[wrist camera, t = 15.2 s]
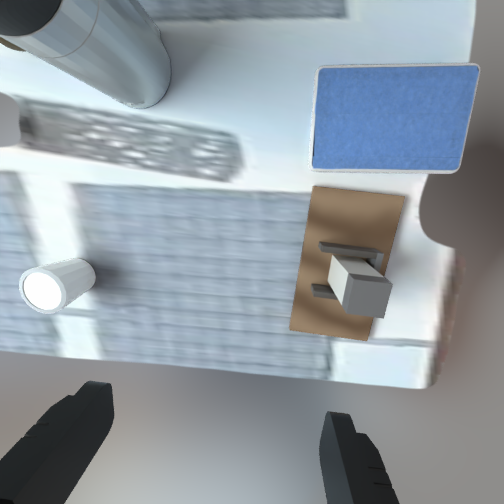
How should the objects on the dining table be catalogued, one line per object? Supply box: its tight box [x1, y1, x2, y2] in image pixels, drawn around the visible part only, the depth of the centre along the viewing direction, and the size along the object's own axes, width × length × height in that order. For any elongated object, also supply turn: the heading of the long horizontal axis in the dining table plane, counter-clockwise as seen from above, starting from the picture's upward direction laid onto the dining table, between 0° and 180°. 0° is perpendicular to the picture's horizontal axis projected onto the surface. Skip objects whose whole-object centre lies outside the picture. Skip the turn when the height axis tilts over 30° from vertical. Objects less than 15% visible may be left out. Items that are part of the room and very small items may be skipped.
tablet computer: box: [308, 63, 481, 174], centre depth 33 cm, size 19×13×1 cm, turn 89°
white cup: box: [19, 258, 96, 314], centre depth 38 cm, size 7×7×7 cm
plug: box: [328, 255, 392, 318], centre depth 32 cm, size 4×4×10 cm
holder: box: [289, 186, 405, 341], centre depth 36 cm, size 22×12×4 cm, turn 174°
